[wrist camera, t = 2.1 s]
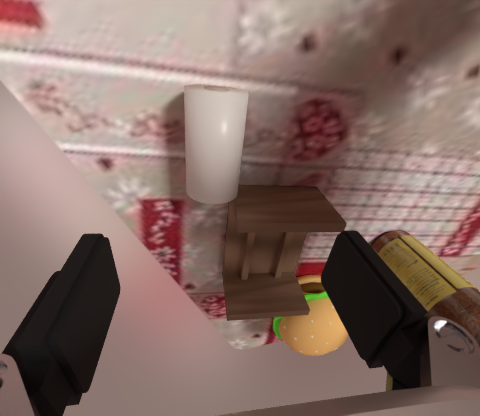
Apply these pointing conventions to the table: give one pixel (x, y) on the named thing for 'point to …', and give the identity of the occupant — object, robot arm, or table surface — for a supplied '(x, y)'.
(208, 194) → the roll
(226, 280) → the holder
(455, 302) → the sauce bottle
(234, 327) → the table surface
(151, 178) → the table surface
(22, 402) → the robot arm
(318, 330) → the hamburger
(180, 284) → the table surface
